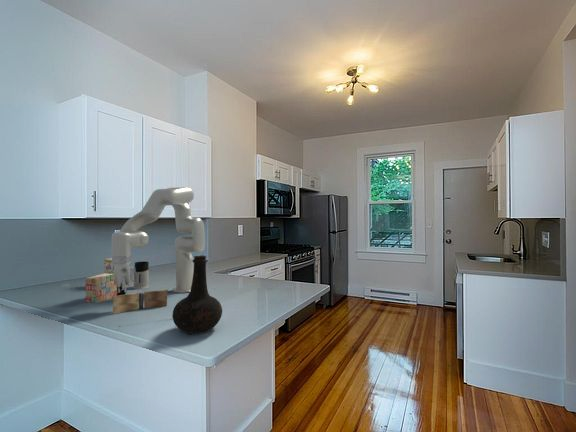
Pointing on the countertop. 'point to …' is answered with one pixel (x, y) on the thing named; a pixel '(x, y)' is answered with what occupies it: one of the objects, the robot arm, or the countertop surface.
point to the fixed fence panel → (153, 299)
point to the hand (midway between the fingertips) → (121, 301)
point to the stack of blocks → (100, 288)
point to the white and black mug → (141, 275)
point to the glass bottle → (197, 303)
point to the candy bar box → (108, 266)
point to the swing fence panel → (125, 302)
